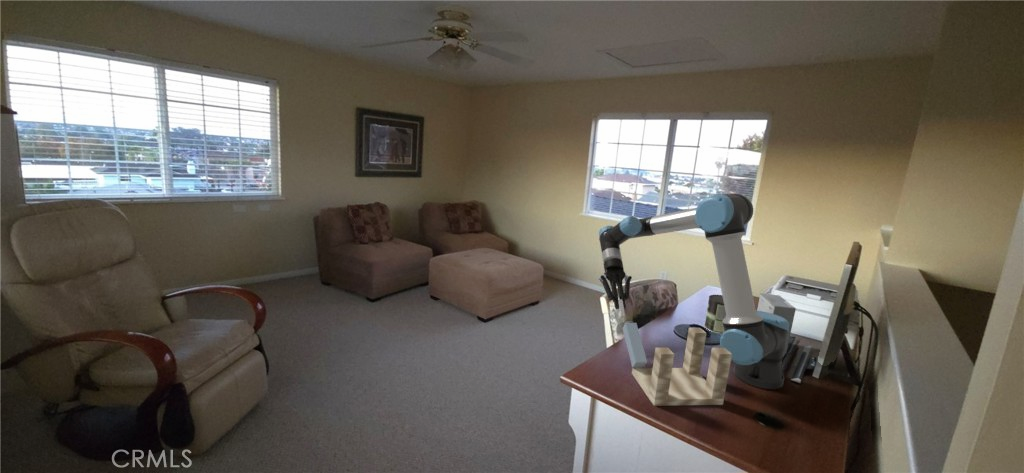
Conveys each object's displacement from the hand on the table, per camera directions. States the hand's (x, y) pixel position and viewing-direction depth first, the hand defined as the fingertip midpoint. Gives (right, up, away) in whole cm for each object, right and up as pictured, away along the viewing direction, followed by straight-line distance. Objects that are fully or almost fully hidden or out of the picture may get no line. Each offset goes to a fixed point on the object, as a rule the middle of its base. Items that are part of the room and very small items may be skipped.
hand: (622, 316), depth 159 cm
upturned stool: (+11, -19, -22) cm, 31 cm away
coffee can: (+48, -10, +25) cm, 55 cm away
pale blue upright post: (+2, -13, -16) cm, 21 cm away
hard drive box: (+61, -14, +11) cm, 64 cm away
